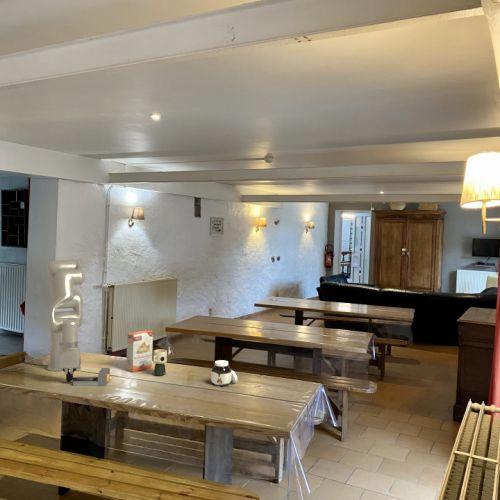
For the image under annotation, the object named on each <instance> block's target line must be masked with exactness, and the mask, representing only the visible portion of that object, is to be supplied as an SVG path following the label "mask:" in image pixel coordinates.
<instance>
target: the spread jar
mask: <svg viewBox="0 0 500 500" xmlns="http://www.w3.org/2000/svg"><path fill="white" fill-rule="evenodd" d="M210 380H211V384H213V385H214V386H215V387H218V386H220V387H223V386H224V387H227V386H228V385H230V384H231V383H232V384H236V383H237V382H238V380H239V379H238V376H237V374H236V372H235V371H234V370H232V368H231V367H230V366H229V361H228V360H223V359H222V360H221V359H219V360H215V362H214V366H212V368H211V371H210Z"/></svg>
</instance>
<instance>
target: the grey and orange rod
mask: <svg viewBox="0 0 500 500" xmlns="http://www.w3.org/2000/svg"><path fill="white" fill-rule="evenodd" d="M110 374H111V373H110ZM110 374H107V384H109V383H110V380H112V379H113V378H112V376H110ZM74 381H98V376H77V377H74V376H73V380H72V383H73V382H74Z"/></svg>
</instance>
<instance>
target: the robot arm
mask: <svg viewBox="0 0 500 500" xmlns="http://www.w3.org/2000/svg"><path fill="white" fill-rule="evenodd" d="M46 273H47V276H48V279H49V281H50V286H51V287H50V289H51V290H50V294H51V297H50V298H51V300H50V301H51V306H50V308H49V311H48V327H49V331H50V343H49V344H50V353H49V356H50V357H49V358H50V359H49V360H42V365H44V366H46V367H47V368H46V369H47V370H48V371H50V372H51V371H52V372H61V371H62V370H63V372H64V374H65V380H66V383H71V382H73V377H74V372H76V371H79V370H81V369H82V367H81V363H82V361H81V351H80V347H79V327H80V328H81V326H82V325H83V320H84V319H83V297H82V293H80V291H76V290H74V286H78V285H79V286H80V285H83V284H84V282H85V272H84V269H83V266H82V263H81V262H80V261H79V260H77V259H76V260H75V259H74V260H73V259H67V260H66V259H65V260H64V259H55V260H51V261H48V263H47V264H46ZM59 309H60V311H57V310H59ZM64 309H72V310H64ZM61 310H62V311H61Z"/></svg>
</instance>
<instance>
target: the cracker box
mask: <svg viewBox="0 0 500 500" xmlns="http://www.w3.org/2000/svg"><path fill="white" fill-rule="evenodd" d="M126 335H127V336H126V339H127V340H126V365H125V366H126V371H127V372H131V373H135V372H139V371H144V370H146V369H147V370H148V369H152V367H153V343H154V342H153V341H154V339H153V338H154V332H153V330H148V329H145V330H139V331H134V332H129V333H127V334H126Z"/></svg>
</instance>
